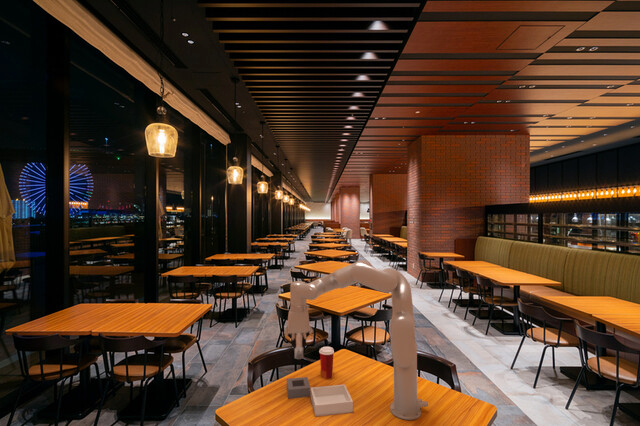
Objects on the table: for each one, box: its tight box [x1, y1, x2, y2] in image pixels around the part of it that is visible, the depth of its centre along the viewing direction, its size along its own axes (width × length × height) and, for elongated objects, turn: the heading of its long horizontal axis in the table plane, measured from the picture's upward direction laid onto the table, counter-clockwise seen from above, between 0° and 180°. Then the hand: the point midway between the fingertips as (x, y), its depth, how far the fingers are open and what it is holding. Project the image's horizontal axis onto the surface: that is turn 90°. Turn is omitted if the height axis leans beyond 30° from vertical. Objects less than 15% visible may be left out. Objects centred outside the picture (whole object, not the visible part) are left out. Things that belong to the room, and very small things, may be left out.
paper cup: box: [318, 346, 335, 380], centre depth 162 cm, size 8×8×14 cm
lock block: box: [286, 376, 311, 400], centre depth 147 cm, size 10×10×4 cm
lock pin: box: [294, 333, 304, 360], centre depth 148 cm, size 4×4×12 cm
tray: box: [310, 384, 354, 417], centre depth 137 cm, size 16×14×4 cm
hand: (298, 346), depth 148 cm, fingers closed on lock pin, 4 cm apart
